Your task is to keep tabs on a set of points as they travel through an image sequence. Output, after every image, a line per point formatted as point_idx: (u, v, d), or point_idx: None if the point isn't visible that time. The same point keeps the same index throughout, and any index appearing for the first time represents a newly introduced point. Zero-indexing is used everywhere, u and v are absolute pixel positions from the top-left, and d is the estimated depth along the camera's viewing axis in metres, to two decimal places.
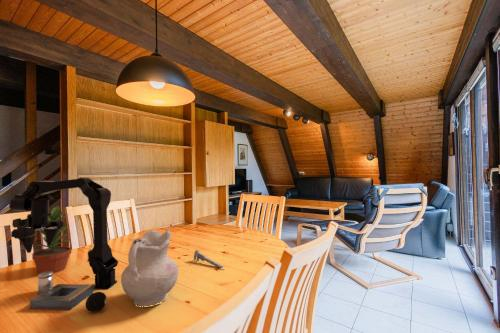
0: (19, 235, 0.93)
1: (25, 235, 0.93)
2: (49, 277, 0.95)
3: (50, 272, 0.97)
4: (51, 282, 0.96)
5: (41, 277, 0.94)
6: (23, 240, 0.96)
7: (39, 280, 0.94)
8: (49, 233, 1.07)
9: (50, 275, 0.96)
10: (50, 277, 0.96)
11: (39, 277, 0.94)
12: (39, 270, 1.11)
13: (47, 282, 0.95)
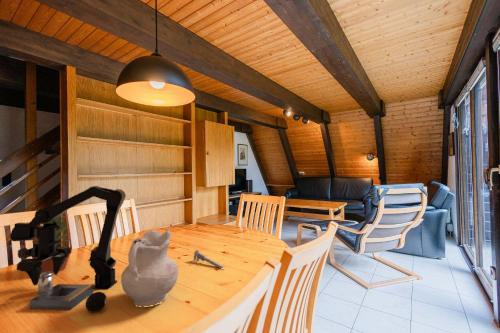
0: (25, 268, 0.87)
1: (32, 268, 0.87)
2: (49, 277, 0.95)
3: (50, 272, 0.97)
4: (51, 282, 0.96)
5: (41, 277, 0.94)
6: (29, 272, 0.90)
7: (39, 280, 0.94)
8: (56, 261, 1.01)
9: (50, 275, 0.96)
10: (50, 277, 0.96)
11: None
12: None
13: (47, 282, 0.95)
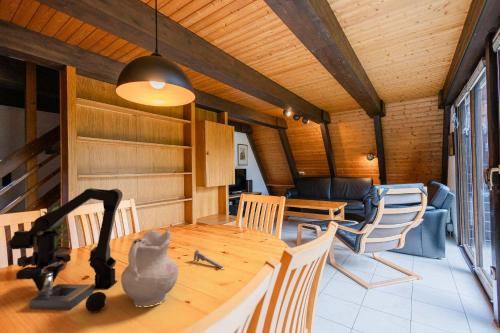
0: (25, 277, 0.87)
1: (31, 277, 0.87)
2: (49, 277, 0.95)
3: (50, 272, 0.97)
4: (51, 282, 0.96)
5: None
6: (34, 278, 0.92)
7: None
8: None
9: (50, 275, 0.96)
10: (50, 276, 0.96)
11: None
12: None
13: (47, 282, 0.95)
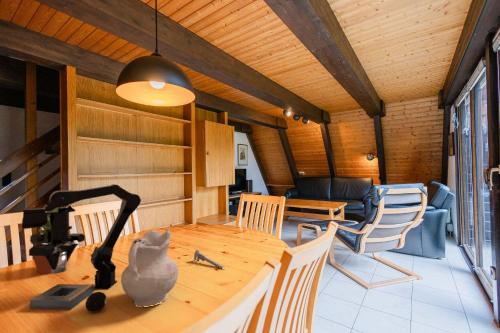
0: (38, 254, 0.82)
1: (44, 254, 0.82)
2: (63, 255, 0.91)
3: (64, 251, 0.93)
4: (65, 261, 0.92)
5: None
6: (48, 256, 0.88)
7: None
8: None
9: (64, 254, 0.91)
10: (63, 255, 0.91)
11: None
12: (39, 270, 1.11)
13: (61, 261, 0.90)
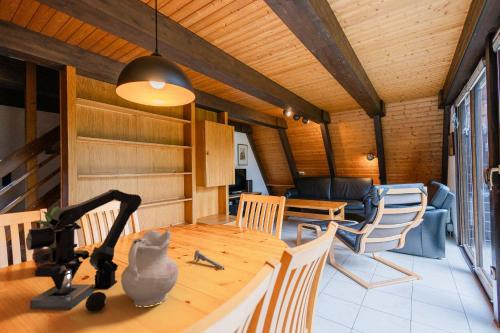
0: (44, 274, 0.81)
1: (51, 274, 0.81)
2: (68, 274, 0.89)
3: (69, 269, 0.91)
4: (70, 280, 0.90)
5: None
6: (53, 276, 0.86)
7: None
8: (70, 268, 0.93)
9: (69, 273, 0.90)
10: (69, 274, 0.89)
11: None
12: None
13: (66, 280, 0.89)
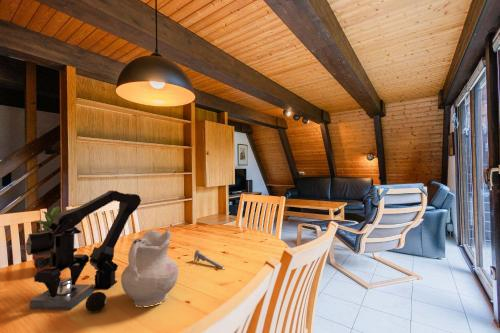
0: (44, 279, 0.81)
1: (50, 279, 0.81)
2: (68, 284, 0.89)
3: (69, 279, 0.91)
4: (70, 290, 0.90)
5: (60, 285, 0.88)
6: (47, 283, 0.84)
7: None
8: (74, 270, 0.95)
9: (69, 283, 0.89)
10: (68, 284, 0.89)
11: None
12: (39, 270, 1.11)
13: (66, 290, 0.89)
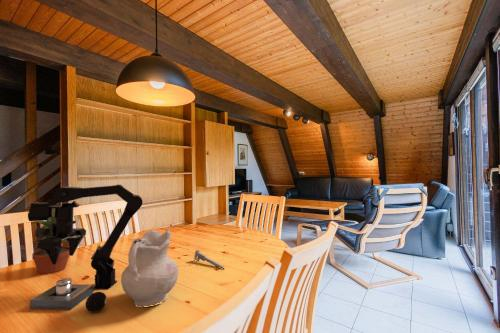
0: (46, 246, 0.86)
1: (53, 246, 0.87)
2: (68, 284, 0.89)
3: (68, 279, 0.91)
4: (70, 290, 0.90)
5: (59, 285, 0.88)
6: (49, 251, 0.90)
7: (57, 288, 0.88)
8: (72, 242, 1.01)
9: (69, 283, 0.89)
10: (68, 284, 0.89)
11: (57, 285, 0.88)
12: (39, 270, 1.11)
13: (66, 290, 0.89)
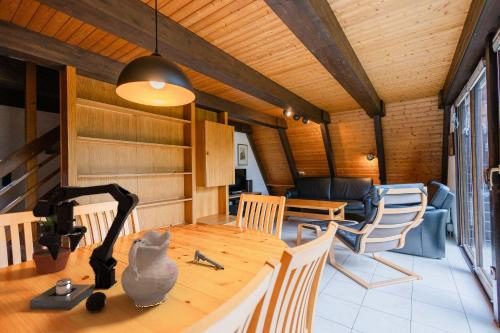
0: (46, 242, 0.91)
1: (52, 242, 0.91)
2: (68, 284, 0.89)
3: (68, 279, 0.91)
4: (70, 290, 0.90)
5: (59, 285, 0.88)
6: (49, 247, 0.94)
7: (57, 288, 0.88)
8: (73, 239, 1.05)
9: (69, 283, 0.89)
10: (68, 284, 0.89)
11: (57, 285, 0.88)
12: (39, 270, 1.11)
13: (66, 290, 0.88)
